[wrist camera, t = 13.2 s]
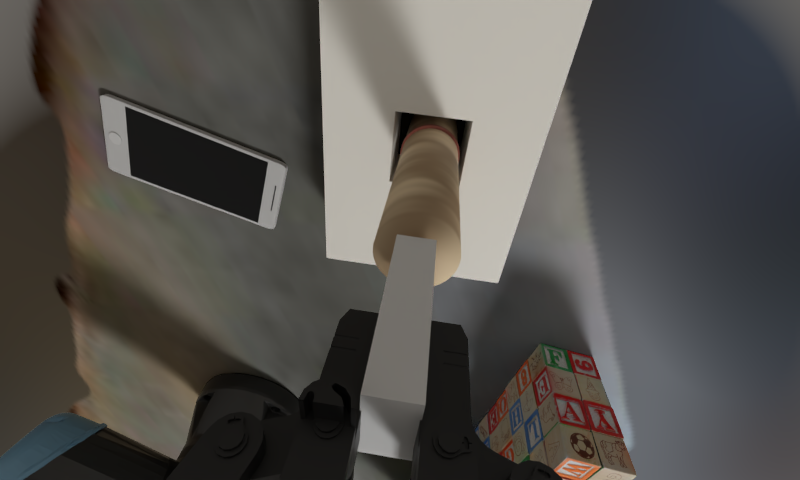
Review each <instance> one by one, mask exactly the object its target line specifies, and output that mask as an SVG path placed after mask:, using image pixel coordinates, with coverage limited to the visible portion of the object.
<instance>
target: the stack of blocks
mask: <svg viewBox="0 0 800 480" xmlns="http://www.w3.org/2000/svg"><path fill="white" fill-rule="evenodd" d="M475 432H476V434H477V435H478V437H479V438H480V440H481V441H482V442H483V443H484V444H485V445H486V446H487V447H489V448H490V449H492V450H493V451H495V452H496V453H498V454H500V455H502V456H504V457H506V458H507V459H509V460H511V461H513V462H515V463H517V464H518V463H521V462H524V461H527V460H532V461H539V462H541V463H543V464H545V465H547V466H549V467H551V468H552V469H553V470H554V471H555V472H556V473H557V474H558V475H559V476H560V477H561V478H562V479H563V480H632V479H634V478H635V477H636V476H637V475H636V472H635V469H634V467H633V464H632V461H631V459H630V456H629V453H628V451H627V448H626V446H625V443H624V441H623V438H624V437H623V434H622V432H621V429H620V427H619V424H618V421H617V419H616V416H615V414H614V411H613V409H612V407H611V405H610V402H609V400H608V397H607V395H606V392H605V389H604V387H603V384H602V382H601V378H600V375H599V373H598V370H597V367H596V365H595V362H594V359H593V357H591V356H587V355H583V354H580V353H576V352H572V351H569V350H564V349H560V348H556V347H553V346H549V345H545V344H542V343H540V344H539V345H538V347H537V348H536V349H535V351H534V352H533V353H532V355H531V356H530V357H529V358H528V359H527V360H526V361H525V363H524V364H523V365H522V367H521V368H520V369H519V371H518V372H517V373H516V375H515V376H514V377H513V378H512V380H511V381H510V382H509V384H508V385H507V386H506V389H505V390H504V392H503V393H502V395H501V396H500V397H499V399H498V400H497V402H496V403H495V405H494V406H493V407H492V409H491V410H490V411H489V413H488V414H486V416H485V417H484V418H483V420H482V421H481V422H480V424H479V425H478V426H477V428H476V429H475Z"/></svg>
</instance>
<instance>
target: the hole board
mask: <svg viewBox="0 0 800 480" xmlns="http://www.w3.org/2000/svg"><path fill="white" fill-rule="evenodd" d="M591 3H592V0H319V18H320V52H321V85H322V119H323V152H324V186H325V219H326V253H327V258H332V259H338V260H345V261H352V262H358V263H365V264H372V265H376V263H375V260H374V257H373V243H374V240H375V237H376V234H377V230H378V227H379V224H380V220H381V217H382V214H383V211H384V207H385V204H386V201H387V198H388V194H389V191H390V188H391V185H392V181H393V178H394V175H395V171H396V168H397V165H398V162H399V158H400V154H398V151H399V140H400V129H401V119H402V112H406V113H413V114H421V115H429V116H436V117H444V118H452V119H460V120H466V123H465V128H464V133H463V138H462V143H461V148H460V158H459V163H458V170H459V202H460V234H461V261H460V264H459V267H458V268H457V270H456V272H455V273H454V274H453V275H452V277H459V278H466V279H473V280H479V281H486V282H493V283H498V282H499V279H500V276H501V273H502V270H503V267H504V264H505V261H506V258H507V255H508V252H509V249H510V246H511V243H512V240H513V237H514V234H515V231H516V228H517V225H518V222H519V219H520V216H521V213H522V210H523V207H524V204H525V201H526V198H527V195H528V192H529V189H530V186H531V183H532V180H533V177H534V174H535V171H536V168H537V165H538V162H539V159H540V156H541V153H542V150H543V147H544V144H545V141H546V138H547V135H548V132H549V129H550V126H551V123H552V120H553V117H554V114H555V111H556V108H557V105H558V102H559V99H560V96H561V93H562V90H563V87H564V84H565V81H566V78H567V75H568V72H569V69H570V66H571V63H572V60H573V57H574V54H575V51H576V47H577V45H578V42H579V39H580V36H581V33H582V30H583V27H584V24H585V20H586V18H587V15H588V12H589V9H590V6H591Z"/></svg>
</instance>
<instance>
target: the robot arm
mask: <svg viewBox="0 0 800 480" xmlns="http://www.w3.org/2000/svg"><path fill="white" fill-rule="evenodd" d="M436 244H437V240H433V239H426V238H419V237H412V236H405V235H398V234H397V236H396V241H395V245H394V249H393V254H392V258H391V262H390V267H389V271H388V276H387V280H386V284H385V289H384V293H383V298H382V302H381V306H380V311H379V313H373V312H367V311H360V310H354V309H350V310H349V311H348V312H347V313H346V314H345V315H344V316H343V317H342V318H341V319H340V321H339V324H338V326H337V329H336V332H335V337H334V338H333V341H332V344H331V348H330V350H329V353H328V356H327V359H326V362H325V365H324V368H323V371H322V374H321V377H320V379H319V380H317V381H314V382H312V383H311V384H310V385H309V386H307V387H306V388H305V389H304V390H303V392H302V394H301V395H300V397H299V398H298V400H297V399H296V398H295V397H294V396H293V395H292V394H291V393H290V392H288V391H287V390H285V389H284V388H282V387H280V386H279V385H277V384H275V383H272V382H270V381H268V380H265V379H262V378H259V377H255V376H250V375H244V374H224V375H219V376H216V377H214V378H212V379H211V380H209V381H208V382H207V384H206V385H205V387H204V388H203V390H202V392H201V393H200V395H199V397H198V399H197V401H196V405H195V409H194V413H193V417H192V421H191V425H190V429H189V433H188V437H187V441H186V444H185V446H184V448H183V450H182V451H181V453H180V455H179V457H178V458H177V460H174V459H172V458H170V457H168V456H166V455H163V454H161V453H159V452H157V451H155V450H153V449H151V448H149V447H147V446H145V445H143V444H141V443H138V442H136V441H134V440H132V439H130V438H128V437H126V436H124V435H122V434H120V433H118V432H115V431H113V430H111V429H109V428H107V425H106V424H104V423H102V424H98V423H96V422H94V421H91V420H89V419H86V418H84V417H81V416H79V415H76V414H73V413H61V414H57V415H54V416H52V417H50V418H48V419H47V420H45V421H43V422H42V423H41V424H40V425H38V426H37V427H36V428H34V429H33V430H32V431H31V432H29V433H28V434H27V435H26V436H25V437H23V438H22V439H21V440H20V441H19V442H18V443H16V444H15V445H14V446H13V447H12V448H10V449H9V450H8V451H7V452H6V453H5V454H3V455H2V456H1V457H0V480H353V476H354V465H355V460H356V455H357V452H363V453H369V454H375V455H381V456H386V457H392V458H398V459H404V460H409V461H412V469H411V479H410V480H563V479H562V478H561V477H560V476H559V475H558V474H557V473H556V472H555V471H554V470H553V469H552V468H551V467H549V466H547V465H545V464H543V463H541V462H539V461H532V460H527V461H524V462H521V463H518V464H517V463H515V462H513V461H511V460H509V459H507V458H506V457H504V456H502V455H500V454H498V453H496V452H495V451H493V450H492V449H490V448H489V447H487V446H486V445H485V444H484V443H483V442H482V441H481V440H480V438H479V437H478V435H477V434H476V432H475V430H474V427H473V425H472V420H471V408H470V382H469V357H468V339H467V337H466V335H465V333H464V331H463V329H462V327H461V325H456V324H450V323H443V322H437V321H431V317H432V302H433V288H434V273H435V258H436Z"/></svg>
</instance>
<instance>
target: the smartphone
mask: <svg viewBox="0 0 800 480" xmlns="http://www.w3.org/2000/svg"><path fill="white" fill-rule="evenodd" d="M100 102H101V110H102V118H103V127H104V135H105V143H106V151H107V159H108V166H109V168H110V169H111V170H113V171H115V172H117V173H120V174H123V175H125V176H128V177H131V178H133V179H136V180H139V181H142V182H144V183H147V184H150V185H152V186H155V187H158V188H160V189H163V190H166V191H169V192H171V193H174V194H177V195H179V196H182V197H185V198H187V199H190V200H193V201H196V202H198V203H201V204H204V205H206V206H209V207H212V208H214V209H217V210H220V211H222V212H225V213H228V214H231V215H233V216H236V217H239V218H241V219H244V220H247V221H249V222H252V223H255V224H258V225H260V226H263V227H266V228H269V229H274V227H275V226H276V222H277V218H278V213H279V208H280V203H281V198H282V194H283V189H284V184H285V179H286V174H287V170H288V166H287V165H286V164H285V163H284V162H281V161H279V160H277V159H274V158H271V157H269V156H266V155H264V154H261V153H259V152H256V151H254V150H251V149H248V148H246V147H243V146H241V145H238V144H236V143H233V142H231V141H228V140H226V139H223V138H220V137H218V136H215V135H213V134H210V133H208V132H205V131H203V130H200V129H197V128H195V127H192V126H190V125H187V124H185V123H182V122H180V121H177V120H175V119H172V118H169V117H167V116H164V115H162V114H159V113H157V112H154V111H152V110H149V109H146V108H144V107H141V106H139V105H136V104H134V103H131V102H129V101H126V100H124V99H121V98H118V97H116V96H113V95H110V94H104V95H101V96H100Z"/></svg>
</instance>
